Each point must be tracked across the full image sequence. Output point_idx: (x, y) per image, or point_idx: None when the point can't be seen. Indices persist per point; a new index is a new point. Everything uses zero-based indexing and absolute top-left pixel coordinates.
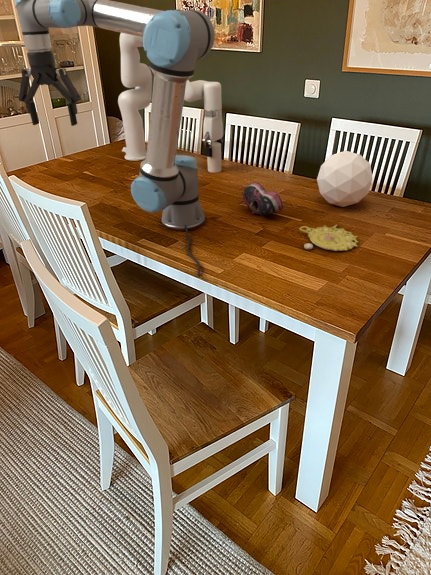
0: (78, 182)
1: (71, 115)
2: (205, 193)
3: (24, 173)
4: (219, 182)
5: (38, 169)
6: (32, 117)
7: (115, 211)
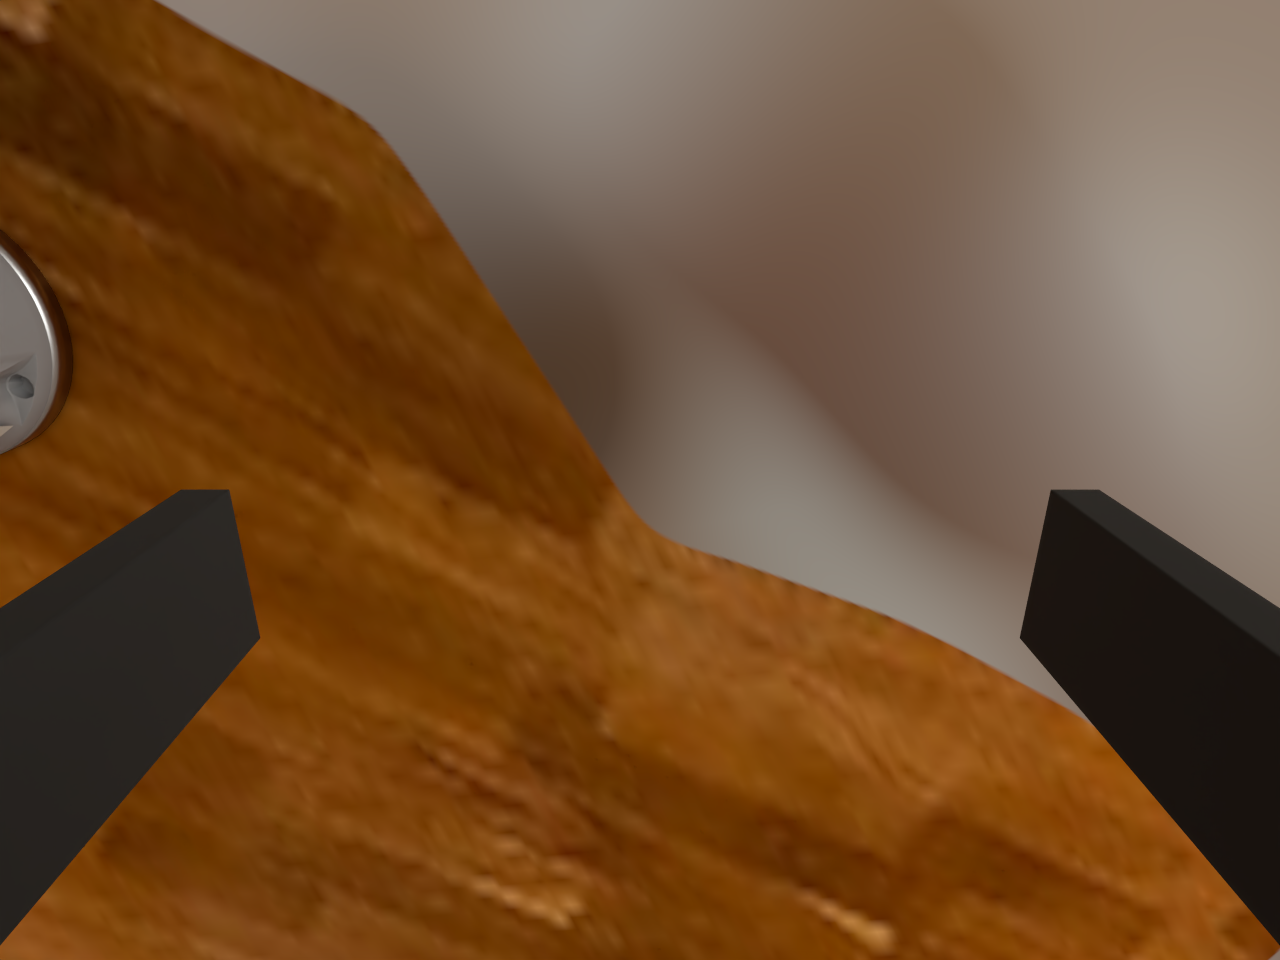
0: (860, 803)
1: (38, 591)
2: None
3: None
4: None
5: (1184, 950)
6: (1165, 561)
7: (434, 430)
